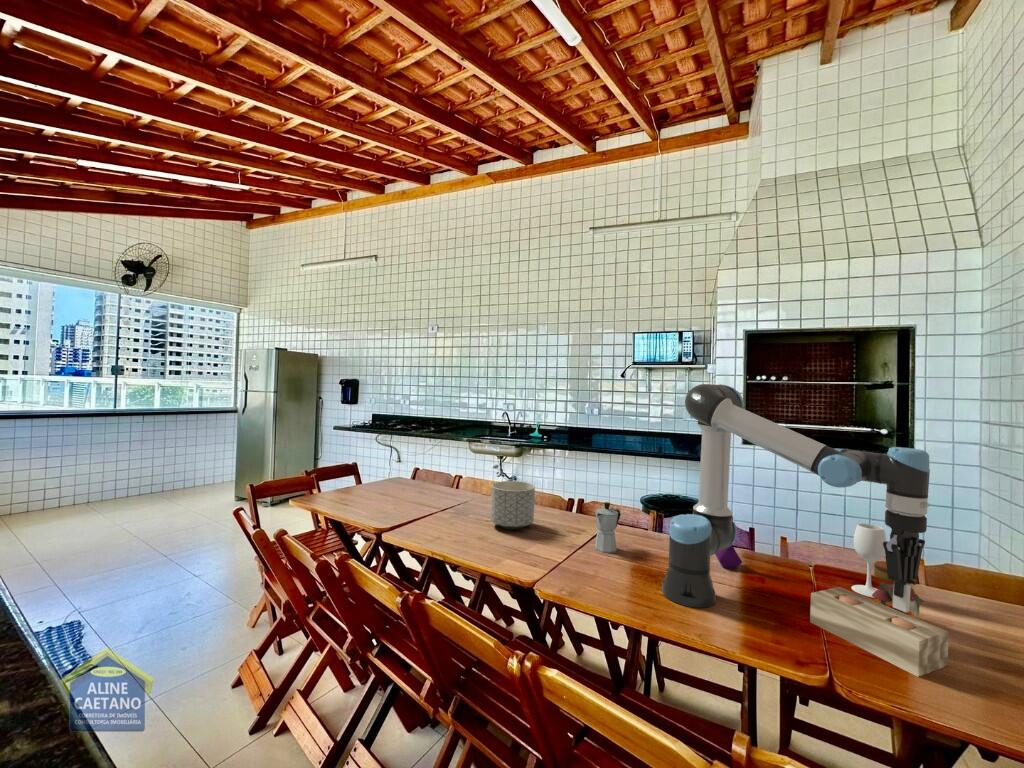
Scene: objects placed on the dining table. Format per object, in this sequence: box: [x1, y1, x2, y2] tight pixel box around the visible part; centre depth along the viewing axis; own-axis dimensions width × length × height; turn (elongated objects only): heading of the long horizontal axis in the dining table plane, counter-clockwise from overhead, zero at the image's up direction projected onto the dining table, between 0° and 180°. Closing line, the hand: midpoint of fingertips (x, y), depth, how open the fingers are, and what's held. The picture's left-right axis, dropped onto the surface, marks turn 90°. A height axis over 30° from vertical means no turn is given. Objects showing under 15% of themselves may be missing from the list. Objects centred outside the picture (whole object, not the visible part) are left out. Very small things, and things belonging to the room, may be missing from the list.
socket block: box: [809, 586, 949, 678], centre depth 111 cm, size 12×24×8 cm, turn 22°
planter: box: [490, 480, 536, 530], centre depth 194 cm, size 19×19×18 cm
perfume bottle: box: [714, 515, 743, 570], centre depth 157 cm, size 8×8×18 cm
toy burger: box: [872, 560, 925, 619], centre depth 123 cm, size 12×13×15 cm
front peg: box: [892, 618, 914, 630], centre depth 106 cm, size 4×4×7 cm
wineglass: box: [851, 522, 888, 599], centre depth 140 cm, size 9×9×21 cm
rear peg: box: [839, 595, 858, 606], centre depth 117 cm, size 4×4×7 cm
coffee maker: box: [594, 501, 622, 554], centre depth 171 cm, size 15×9×18 cm, turn 131°
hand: (900, 609), depth 106 cm, fingers closed
